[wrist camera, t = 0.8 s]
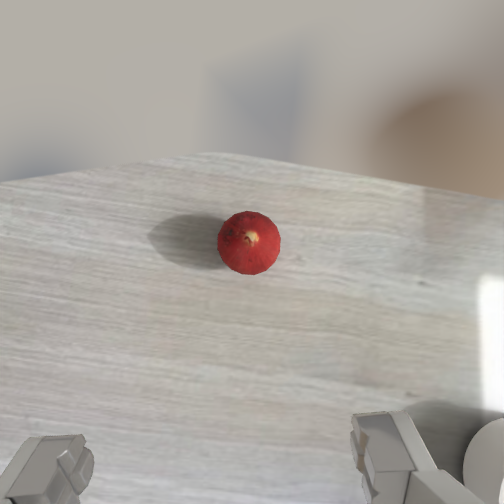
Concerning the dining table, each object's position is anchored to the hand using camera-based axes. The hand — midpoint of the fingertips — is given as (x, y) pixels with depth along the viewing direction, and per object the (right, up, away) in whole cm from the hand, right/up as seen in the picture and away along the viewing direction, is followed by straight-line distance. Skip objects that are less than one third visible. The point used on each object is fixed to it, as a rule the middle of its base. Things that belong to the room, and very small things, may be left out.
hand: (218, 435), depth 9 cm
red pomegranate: (+1, +6, +23) cm, 24 cm away
